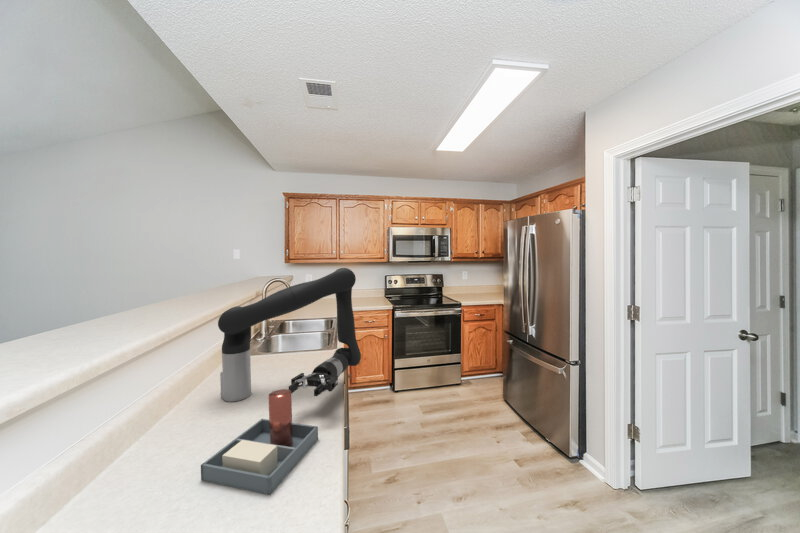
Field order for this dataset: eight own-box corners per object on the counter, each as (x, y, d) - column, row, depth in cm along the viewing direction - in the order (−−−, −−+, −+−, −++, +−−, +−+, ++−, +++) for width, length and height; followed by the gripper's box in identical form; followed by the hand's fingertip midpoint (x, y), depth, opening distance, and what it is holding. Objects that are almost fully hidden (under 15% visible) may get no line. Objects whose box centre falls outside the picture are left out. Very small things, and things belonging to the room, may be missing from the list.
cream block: (222, 476, 69) (222, 455, 68) (242, 459, 74) (242, 439, 74) (260, 484, 66) (259, 462, 66) (277, 465, 72) (277, 445, 72)
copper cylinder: (265, 450, 78) (263, 397, 77) (279, 437, 83) (277, 388, 83) (284, 453, 76) (282, 399, 76) (297, 440, 82) (295, 390, 81)
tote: (201, 484, 68) (200, 465, 68) (262, 433, 87) (261, 418, 87) (270, 499, 63) (269, 478, 63) (318, 442, 83) (317, 426, 83)
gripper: (309, 359, 107) (281, 377, 91) (346, 362, 103) (323, 381, 88) (310, 380, 107) (281, 401, 91) (347, 384, 104) (324, 406, 88)
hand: (302, 391), depth 90 cm, fingers open, 8 cm apart
